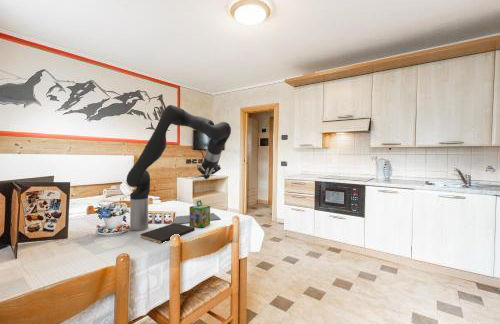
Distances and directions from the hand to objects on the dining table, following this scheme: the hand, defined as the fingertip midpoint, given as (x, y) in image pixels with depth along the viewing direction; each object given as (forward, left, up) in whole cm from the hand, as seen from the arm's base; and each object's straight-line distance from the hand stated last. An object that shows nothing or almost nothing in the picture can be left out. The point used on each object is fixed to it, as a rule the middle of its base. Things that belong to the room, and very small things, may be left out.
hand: (205, 177), depth 134 cm
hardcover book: (-19, +4, -31) cm, 36 cm away
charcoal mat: (0, +27, -30) cm, 40 cm away
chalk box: (0, +13, -30) cm, 33 cm away
